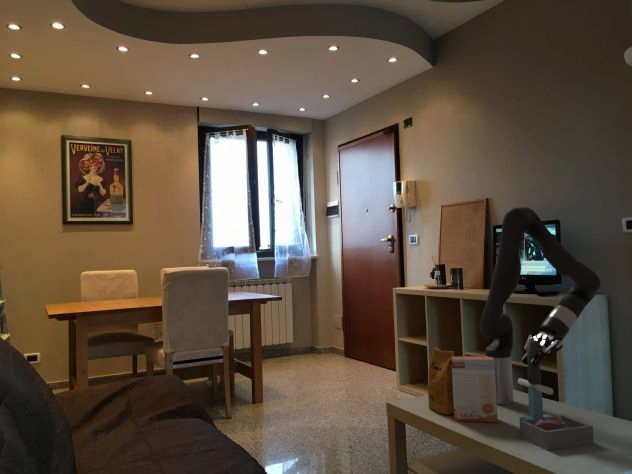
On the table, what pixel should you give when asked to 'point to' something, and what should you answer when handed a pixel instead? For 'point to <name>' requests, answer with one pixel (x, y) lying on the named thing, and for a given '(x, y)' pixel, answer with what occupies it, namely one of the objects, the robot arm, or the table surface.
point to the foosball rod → (534, 387)
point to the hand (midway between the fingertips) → (528, 364)
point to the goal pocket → (558, 434)
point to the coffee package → (441, 382)
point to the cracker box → (474, 389)
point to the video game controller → (551, 424)
